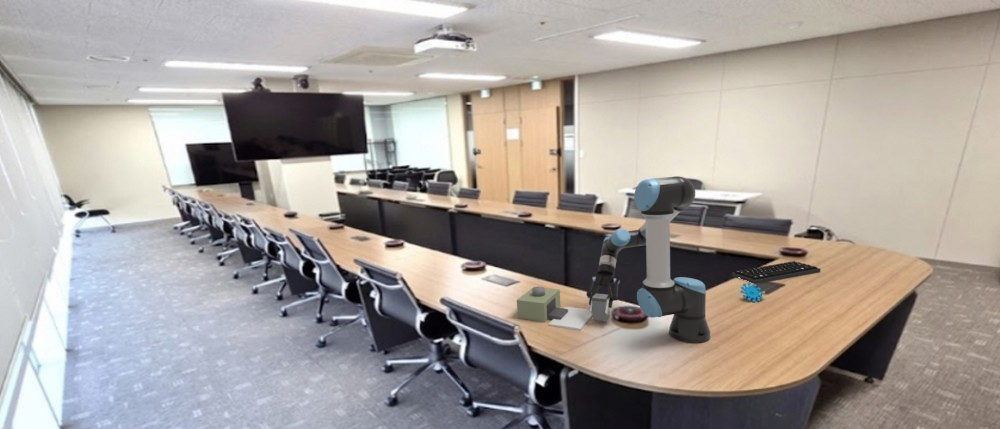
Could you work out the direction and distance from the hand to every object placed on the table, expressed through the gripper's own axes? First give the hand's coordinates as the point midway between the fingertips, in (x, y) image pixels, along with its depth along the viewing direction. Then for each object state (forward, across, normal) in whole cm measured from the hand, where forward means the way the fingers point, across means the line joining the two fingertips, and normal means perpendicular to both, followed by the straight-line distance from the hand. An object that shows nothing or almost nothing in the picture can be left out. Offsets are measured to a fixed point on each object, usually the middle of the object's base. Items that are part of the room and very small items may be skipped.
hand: (598, 312), depth 182 cm
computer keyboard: (-66, -73, -75) cm, 123 cm away
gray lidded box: (0, 0, -5) cm, 5 cm away
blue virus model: (-33, -60, -42) cm, 80 cm away
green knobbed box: (+1, +22, -7) cm, 23 cm away
